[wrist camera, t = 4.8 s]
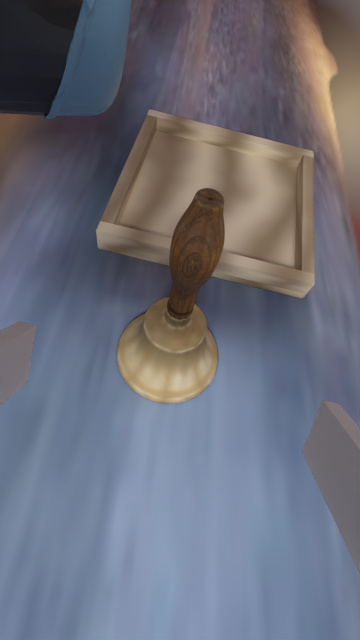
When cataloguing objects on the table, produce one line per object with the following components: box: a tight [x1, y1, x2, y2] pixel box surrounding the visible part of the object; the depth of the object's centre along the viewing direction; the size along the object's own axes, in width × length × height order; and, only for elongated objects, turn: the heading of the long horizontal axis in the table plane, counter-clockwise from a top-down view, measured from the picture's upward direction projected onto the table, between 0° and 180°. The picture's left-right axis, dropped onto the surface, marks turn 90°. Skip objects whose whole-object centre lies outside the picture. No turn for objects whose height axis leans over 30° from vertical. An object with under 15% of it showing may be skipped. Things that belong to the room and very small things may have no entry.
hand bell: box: [117, 188, 225, 403], centre depth 21 cm, size 8×8×16 cm
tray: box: [96, 109, 314, 299], centre depth 37 cm, size 20×20×2 cm
